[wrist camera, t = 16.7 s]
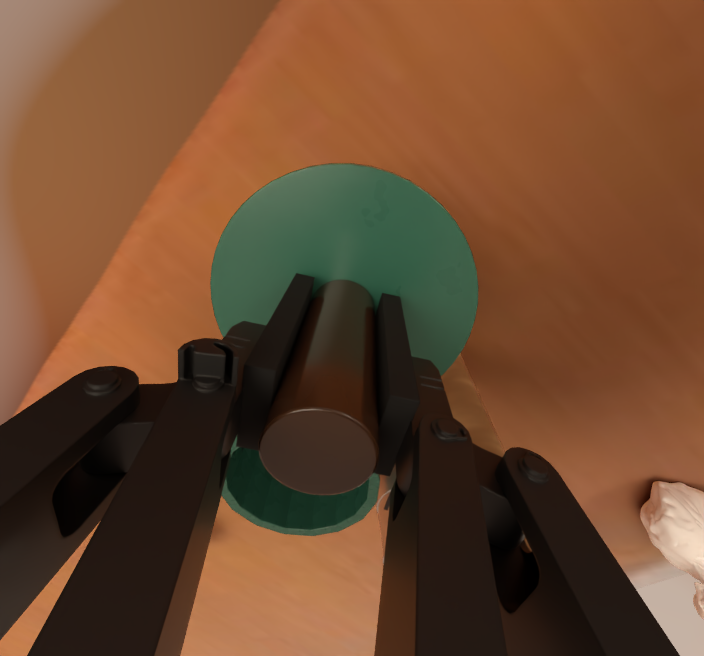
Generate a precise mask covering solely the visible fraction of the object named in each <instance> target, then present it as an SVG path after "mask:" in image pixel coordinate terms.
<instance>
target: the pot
mask: <svg viewBox="0 0 704 656" xmlns="http://www.w3.org/2000/svg"><path fill="white" fill-rule="evenodd" d="M236 443H237V436H236V438H235V441H234V443H233V445H232V447H231V456H230V463H229V467H228V471H227V475H226V479H225V483H224V486H223V490H222V494H221V495H222V497H223V498H224V499H225V501H226V502H227V503H228V505H229V506H230V507H231V509H232V510H234V511H235V512H237V513H238V514H240V515H241V516H243V517H244V518H246V519H247V520H249V521H250V522H252V523H253V524H256V525H257V526H261V527H264V528H267V529H270V530H273V531H276V532H279V533H283V534H291V535H305V536H316V535H322V534H327V533H333V532H338V531H341V530H343V529H345V528H347V527H349V526H351V525H353V524H354V523H356V522H358V521H360V520H362V519H363V518H364V517H365V516H366V515H367V513H368V512H369V511H370V510H371V509H372V507H373V506H374V505H375V504H376V502H377V499H378V492H379V486H380V474H375V473H373V474H372V476H371V477H370V478H369V479H368V480H367V481H366V482H365V483H363V484H362V485H360V486H359V487H357V488H355V489H353V490H351V491H348V492H345V493H340V494H334V495H314V494H308V493H303V492H300V491H297V490H294V489H292V488H289V487H287V486H285V485H284V484H282V483H280V482H279V481H277V480H276V479H275V478H274V477H273V476H272V475H271V474H270V473H269V472H268V471H267V470H266V468H265V467H264V465H263V463H262V461H261V458H260V455H259V451H257V450H252V449H247V448H242V447H237V446H236Z"/></svg>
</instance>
